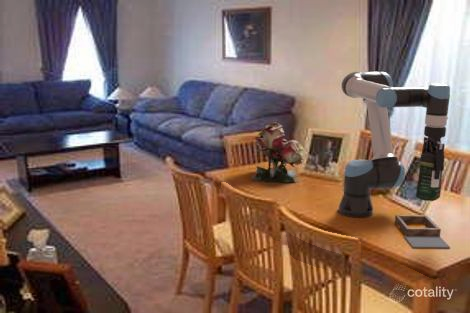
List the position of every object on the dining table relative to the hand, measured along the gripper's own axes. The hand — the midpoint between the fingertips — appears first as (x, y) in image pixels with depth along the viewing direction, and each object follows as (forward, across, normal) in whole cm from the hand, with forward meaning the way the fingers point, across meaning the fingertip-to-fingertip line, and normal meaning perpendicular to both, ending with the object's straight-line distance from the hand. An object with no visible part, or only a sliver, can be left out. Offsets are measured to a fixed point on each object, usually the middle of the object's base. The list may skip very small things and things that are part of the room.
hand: (429, 183), depth 194 cm
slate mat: (+23, -4, +1) cm, 23 cm away
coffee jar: (+6, 0, 0) cm, 6 cm away
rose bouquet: (+22, +84, +51) cm, 101 cm away
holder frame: (+23, +10, 0) cm, 25 cm away
